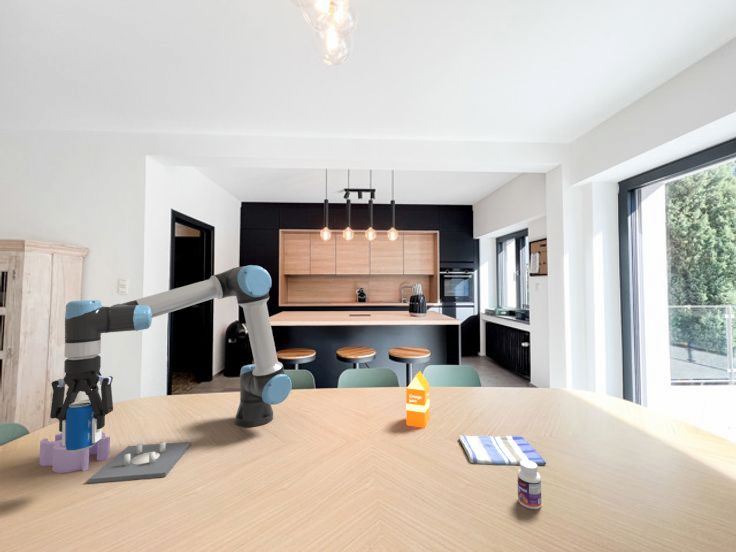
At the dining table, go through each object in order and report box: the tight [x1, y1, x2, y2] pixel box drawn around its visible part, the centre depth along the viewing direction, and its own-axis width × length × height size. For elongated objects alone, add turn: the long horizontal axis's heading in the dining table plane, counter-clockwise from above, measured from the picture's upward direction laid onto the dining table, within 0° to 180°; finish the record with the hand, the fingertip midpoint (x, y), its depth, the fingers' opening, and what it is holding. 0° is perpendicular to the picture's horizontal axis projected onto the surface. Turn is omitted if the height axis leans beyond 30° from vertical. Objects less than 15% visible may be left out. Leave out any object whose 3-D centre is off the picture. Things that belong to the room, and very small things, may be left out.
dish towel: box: [457, 434, 547, 466], centre depth 110 cm, size 17×24×3 cm
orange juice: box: [405, 370, 430, 429], centre depth 135 cm, size 8×9×20 cm
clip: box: [38, 432, 111, 474], centre depth 105 cm, size 20×12×7 cm, turn 78°
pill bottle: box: [516, 460, 542, 510], centre depth 84 cm, size 5×5×10 cm
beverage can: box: [66, 399, 97, 452], centre depth 90 cm, size 6×6×12 cm
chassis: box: [88, 441, 192, 484], centre depth 104 cm, size 20×20×4 cm
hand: (82, 441), depth 89 cm, fingers closed on beverage can, 6 cm apart
